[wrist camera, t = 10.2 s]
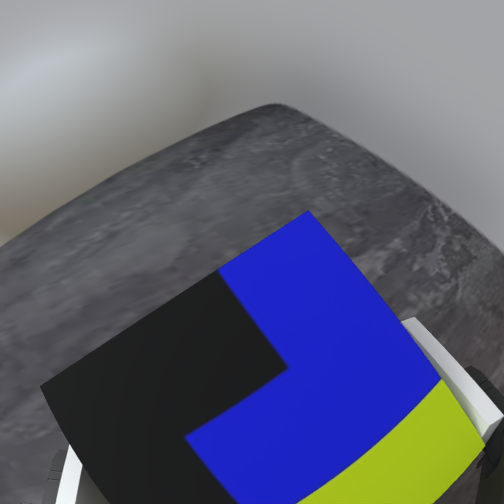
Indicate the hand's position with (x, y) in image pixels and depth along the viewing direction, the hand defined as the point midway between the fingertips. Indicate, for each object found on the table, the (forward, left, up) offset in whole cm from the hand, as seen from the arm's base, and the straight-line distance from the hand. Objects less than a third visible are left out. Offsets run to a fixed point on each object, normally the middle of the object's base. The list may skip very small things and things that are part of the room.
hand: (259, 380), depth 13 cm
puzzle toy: (0, -2, -5) cm, 5 cm away
